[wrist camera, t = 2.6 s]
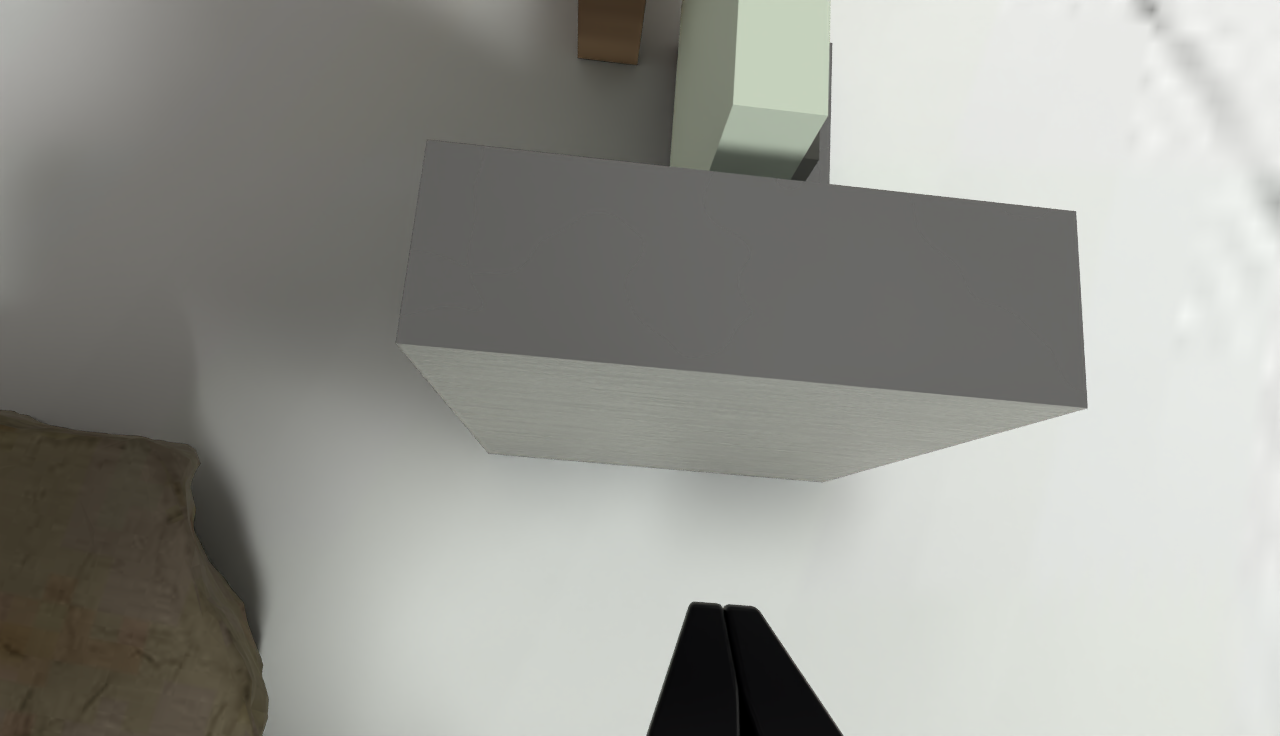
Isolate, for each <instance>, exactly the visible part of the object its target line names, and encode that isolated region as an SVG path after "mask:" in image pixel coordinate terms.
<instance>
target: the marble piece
mask: <svg viewBox="0 0 1280 736" xmlns="http://www.w3.org/2000/svg"><path fill="white" fill-rule="evenodd" d="M199 465H200V461H199V458H198V455H197V452H196V450H195V449H194V448H192V447H191V446H189V445H188V444H181V443H173V442H166V441H163V440H152V439H149V438H146V437H142V436H131V435H116V434H107V433H97V432H86V431H77V430H72V429H68V428H64V427H57V426H51V425H48V424H45V423H42V422H39V421H37V420H35V419H33V418H32V417H30V416H28V415H21V414H19V413H16V412H14V411H6V410H0V736H262V734H263V731H264V728H265V725H266V722H267V719H268V714H267V712H268V702H269V699H268V695H267V691H266V687H265V683H264V681H263V678H262V668H263V663H262V660H261V657H260V654H259V652H258V649H257V647H256V644H255V642H254V639H253V636H252V633H251V631H250V628H249V625H248V622H247V617H246V612H245V607H244V603H243V602H242V600H241V599H240V598H239V597H238V596H237V595H236V594H235V592H234V591H233V590H232V589H231V588H230V586H229V585H228V583H227V582H226V580H225V578H224V577H223V576H222V575H221V574H220V573H219V572H218V571H217V570H216V568H215V567H214V566H213V565H212V564H211V563H210V562H209V559H208V557H207V555H206V553H205V551H204V549H203V547H202V545H201V543H200V541H199V539H198V537H197V535H196V533H195V531H194V524H193V523H194V517H195V512H196V507H195V503H194V499H193V495H192V491H191V482H192V479H193V477H194V474H195V472H196V469H197V468H198V467H199Z"/></svg>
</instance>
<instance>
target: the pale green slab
mask: <svg viewBox="0 0 1280 736" xmlns="http://www.w3.org/2000/svg"><path fill="white" fill-rule="evenodd" d="M829 46H830V0H683V1H682V6H681V19H680V33H679V46H678V60H677V74H676V87H675V101H674V115H673V128H672V142H671V156H670V167H679V168H688V169H697V170H706V171H715V172H724V173H733V174H742V175H751V176H760V177H770V178H779V179H788V180H797V181H806V180H807V178H808V177H809V175H810V174H811V172H812V170H813V169H814V167H815V166H816V164H817V162H818V161H819V144H820V128H821V127H822V125H823V123H824V122H825V120H826V118H827V117H828V93H829Z"/></svg>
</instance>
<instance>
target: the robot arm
mask: <svg viewBox="0 0 1280 736" xmlns="http://www.w3.org/2000/svg"><path fill="white" fill-rule="evenodd" d="M646 736H843V734H842V733H841V731H840V730H839V728H838V727H837V725H836V724H835V722H834V721H833V719H832V718H831V716H830V715H829V713H828V712H827V710H826V709H825V707H824V706H823V704H822V703H821V701H820V700H819V698H818V697H817V695H816V694H815V692H814V691H813V690H812V688H811V687H810V685H809V684H808V682H807V681H806V679H805V678H804V676H803V675H802V673H801V672H800V670H799V669H798V667H797V666H796V664H795V663H794V661H793V660H792V658H791V657H790V655H789V654H788V652H787V651H786V649H785V648H784V646H783V645H782V643H781V642H780V640H779V639H778V637H777V636H776V635H775V633H774V632H773V630H772V629H771V627H770V626H769V624H768V623H767V621H766V620H765V618H764V617H763V615H762V614H761V612H760V611H759V610H758V609H757V608H755V607H753V606H745V605H731V604H729V605H726V606H724V607H722V606H721V605H720V604H717V603H705V602H692V603H691V604H690V605H689V607H688V610H687V613H686V616H685V619H684V622H683V625H682V628H681V631H680V634H679V637H678V640H677V643H676V646H675V649H674V653H673V656H672V659H671V662H670V665H669V668H668V671H667V674H666V677H665V680H664V683H663V686H662V689H661V692H660V695H659V698H658V701H657V705H656V708H655V711H654V714H653V717H652V720H651V723H650V726H649V729H648V732H647V735H646Z"/></svg>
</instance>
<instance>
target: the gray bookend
mask: <svg viewBox="0 0 1280 736" xmlns="http://www.w3.org/2000/svg"><path fill="white" fill-rule="evenodd" d="M677 60H678V59H677ZM676 74H677V73H676ZM831 76H832V43H830V46H829V93H828V117H827V118H826V120H825V122H824V123H823V125H822V127H821V128H820V144H819V161H818V162H817V164H816V166H815V167H814V169H813V170H812V172H811V174H810V175H809V177H808V178H807V180H806V181H797V180H788V179H779V178H770V177H760V176H751V175H742V174H733V173H724V172H715V171H706V170H697V169H688V168H679V167H670V166H661V165H652V164H643V163H634V162H625V161H616V160H607V159H598V158H589V157H580V156H571V155H562V154H553V153H544V152H535V151H526V150H516V149H507V148H498V147H489V146H480V145H471V144H462V143H453V142H444V141H435V140H427V143H426V150H425V156H424V163H423V169H422V176H421V182H420V189H419V195H418V202H417V208H416V215H415V221H414V228H413V234H412V241H411V247H410V253H409V260H408V266H407V273H406V279H405V286H404V292H403V299H402V305H401V312H400V318H399V325H398V331H397V338H396V344H397V345H398V347H399V348H400V349H401V350H402V351H403V353H404V354H405V355H406V356H407V357H408V359H409V360H410V361H411V362H412V363H413V365H414V366H415V367H416V368H417V369H418V370H419V372H420V373H421V374H422V375H423V376H424V378H425V379H426V380H427V381H428V382H429V384H430V385H431V386H432V387H433V388H434V389H435V391H436V392H437V393H438V394H439V395H440V397H441V398H442V399H443V400H444V401H445V403H446V404H447V405H448V406H449V407H450V408H451V410H452V411H453V412H454V413H455V414H456V416H457V417H458V418H459V419H460V420H461V422H462V423H463V424H464V425H465V426H466V427H467V429H468V430H469V431H470V432H471V433H472V435H473V436H474V437H475V438H476V439H477V441H478V442H479V443H480V444H481V445H482V446H483V448H484V449H485V450H486V451H487V452H488V454H499V455H511V456H522V457H534V458H546V459H557V460H569V461H581V462H592V463H604V464H616V465H628V466H639V467H651V468H663V469H674V470H686V471H698V472H709V473H721V474H733V475H744V476H756V477H768V478H780V479H791V480H803V481H815V482H825V481H829V480H833V479H836V478H840V477H843V476H847V475H850V474H854V473H858V472H861V471H865V470H868V469H872V468H876V467H879V466H883V465H886V464H890V463H893V462H897V461H901V460H904V459H908V458H911V457H915V456H918V455H922V454H926V453H929V452H933V451H936V450H940V449H943V448H947V447H951V446H954V445H958V444H961V443H965V442H969V441H972V440H976V439H979V438H983V437H986V436H990V435H994V434H997V433H1001V432H1004V431H1008V430H1011V429H1015V428H1019V427H1022V426H1026V425H1029V424H1033V423H1037V422H1040V421H1044V420H1047V419H1051V418H1054V417H1058V416H1062V415H1065V414H1069V413H1072V412H1076V411H1079V410H1083V409H1087V408H1088V407H1087V390H1086V373H1085V356H1084V339H1083V322H1082V305H1081V288H1080V271H1079V254H1078V237H1077V220H1076V211H1068V210H1059V209H1050V208H1041V207H1032V206H1023V205H1014V204H1004V203H995V202H986V201H977V200H968V199H959V198H950V197H941V196H932V195H923V194H914V193H905V192H896V191H887V190H878V189H869V188H860V187H851V186H842V185H833V184H829V172H830V124H831ZM674 101H675V100H674ZM673 115H674V114H673ZM672 128H673V127H672ZM671 142H672V141H671ZM670 156H671V155H670Z"/></svg>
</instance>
